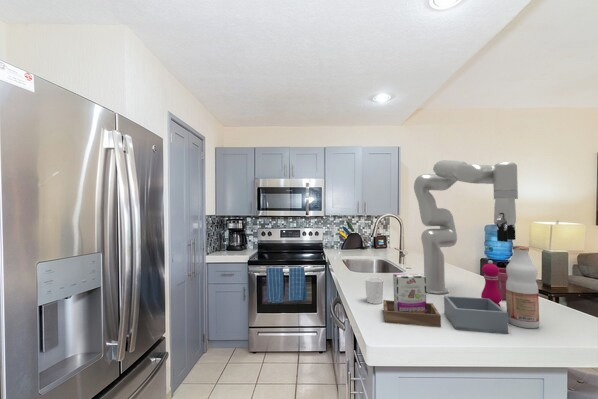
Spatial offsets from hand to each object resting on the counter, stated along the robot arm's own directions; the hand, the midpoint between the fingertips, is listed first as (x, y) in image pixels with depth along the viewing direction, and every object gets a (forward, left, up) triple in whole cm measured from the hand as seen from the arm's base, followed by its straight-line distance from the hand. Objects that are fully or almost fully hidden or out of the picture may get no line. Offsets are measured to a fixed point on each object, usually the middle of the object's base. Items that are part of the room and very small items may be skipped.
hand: (506, 240), depth 111 cm
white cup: (-11, -49, -30) cm, 58 cm away
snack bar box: (+6, -36, -30) cm, 47 cm away
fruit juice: (+3, +3, -30) cm, 30 cm away
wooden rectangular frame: (+6, -36, -30) cm, 47 cm away
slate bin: (+6, -14, -30) cm, 33 cm away
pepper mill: (-14, -1, -30) cm, 33 cm away
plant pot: (-31, +11, -30) cm, 45 cm away
